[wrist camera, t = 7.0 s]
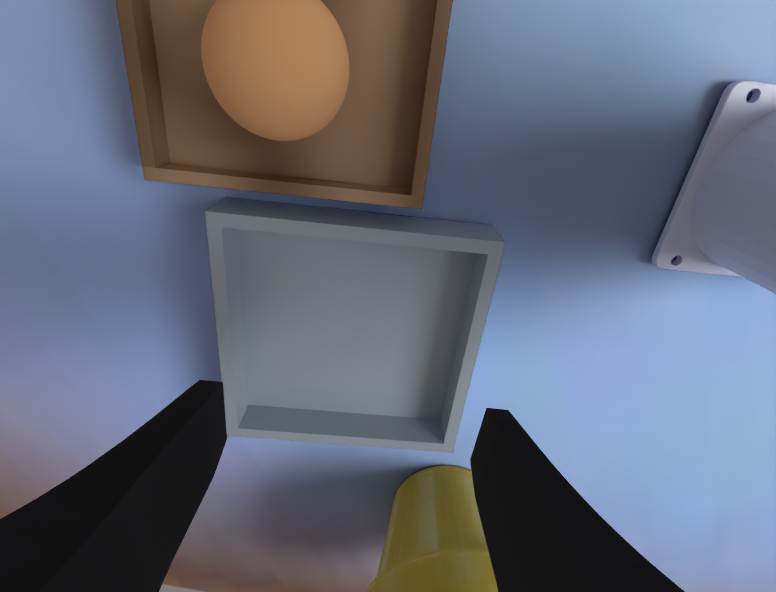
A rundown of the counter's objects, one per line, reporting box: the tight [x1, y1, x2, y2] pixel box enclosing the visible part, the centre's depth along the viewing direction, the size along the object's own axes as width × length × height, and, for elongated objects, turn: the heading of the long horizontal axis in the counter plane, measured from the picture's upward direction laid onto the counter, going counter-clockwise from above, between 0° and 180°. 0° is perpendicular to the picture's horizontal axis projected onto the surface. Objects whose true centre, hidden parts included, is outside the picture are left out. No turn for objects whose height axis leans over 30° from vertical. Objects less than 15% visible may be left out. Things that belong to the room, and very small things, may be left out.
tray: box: [116, 0, 453, 209], centre depth 15 cm, size 11×9×2 cm
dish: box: [205, 197, 506, 453], centre depth 20 cm, size 12×12×2 cm
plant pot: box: [366, 465, 498, 592], centre depth 23 cm, size 10×10×10 cm
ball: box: [201, 0, 349, 141], centre depth 13 cm, size 5×5×5 cm
